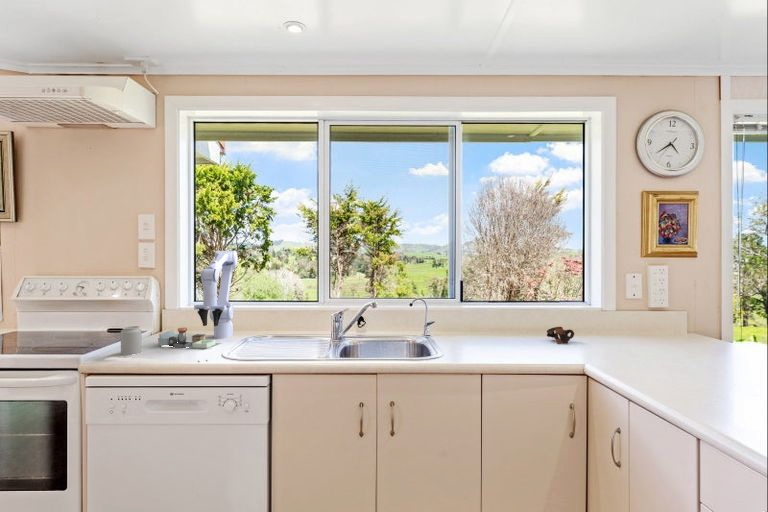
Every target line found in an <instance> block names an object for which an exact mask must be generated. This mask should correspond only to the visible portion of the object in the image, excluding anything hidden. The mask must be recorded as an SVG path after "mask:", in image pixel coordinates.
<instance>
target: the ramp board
mask: <svg viewBox="0 0 768 512" xmlns="http://www.w3.org/2000/svg"><path fill="white" fill-rule="evenodd" d="M221 344H222V342H216V345H215V346H213V347H210V348H208V349H207V350H209V349H211V348H214V347H216V346H218V345H221ZM173 347H175V348H174V349H183V348H186V347H189V348H187V349H186V350H194V349H193V346H192V341H186V344H179V342H178V343H176V344H173Z"/></svg>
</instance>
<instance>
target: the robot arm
mask: <svg viewBox="0 0 768 512" xmlns="http://www.w3.org/2000/svg"><path fill="white" fill-rule="evenodd" d="M237 265H238V252H237V250H216V251H215V253H214V260H212V261H211V262H210V263H209V265H208V266H207V268H203V269H202V270H201V272H200V280H201V285H202V287H203V288H202V290H203V291H202V295H203V297H202V299H203V303H202V304H194V306H193V309H194V310H195V311H196V310H197V314H198V315H199V318H200V320H201V322H202V326H203V327H207V326H208V315H209V318H210V321H212V322H213V338H214V339H215V340H217V339H218V340H219V339H220V340H221V339H223V340H224V339H228V338H230V337H232V336H234V324H233V322H232V319H233V318H234V305H233V304H232V303H231V302H230V301H229V297H230V291H231V284H232V283H231V282H232V276H233V271H234V270H235V269H237ZM220 273H221V277H220ZM219 278H220V284H219V285H220V286H219V291H218V281H219Z"/></svg>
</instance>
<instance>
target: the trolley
mask: <svg viewBox="0 0 768 512" xmlns="http://www.w3.org/2000/svg"><path fill="white" fill-rule="evenodd" d="M158 336H159V337H158V338H157V340H158V341H157V342H158V346H161V345H169V346H173V344H176V343H177V342H179V333H175V330H170V331H166V332H162V333H159V335H158Z"/></svg>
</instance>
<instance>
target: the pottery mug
mask: <svg viewBox="0 0 768 512" xmlns="http://www.w3.org/2000/svg"><path fill="white" fill-rule="evenodd" d="M569 334H570V335H569ZM574 336H575V332H574V330H573V329H571V328H570V329H564V328H563V327H562V326H555V327H552V328H551V327H550V328H549V329H547V330H546V337H548V338H552V339H555V341H556V344H557V345H560V344H567V343H568V344H569V342H570V340H571V339H573V338H574Z"/></svg>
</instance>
